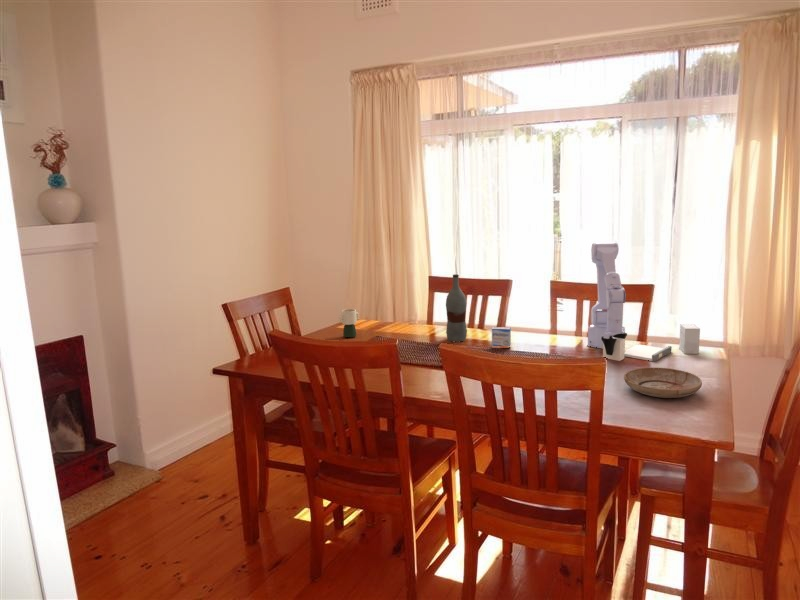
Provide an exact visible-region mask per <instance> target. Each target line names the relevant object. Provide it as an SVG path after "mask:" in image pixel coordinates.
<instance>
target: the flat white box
mask: <svg viewBox="0 0 800 600" xmlns="http://www.w3.org/2000/svg"><path fill="white" fill-rule="evenodd" d="M668 353H669V354H670V353H672V346H671V345H668V346H666V347H664V348H663V347H658V346H651V345H645V344H636V345H635V346H632V347H630V348H628V349H626V350H625V355H624V357H627V358H631V359H638V360H643V361H648V360H649V361H650V362H656V361H658V360H660V359H661V357H662V358H663V357H665V356H667V355H669V354H668ZM666 354H667V355H666ZM664 355H665V356H664ZM659 358H660V359H659ZM649 361H648V362H649Z"/></svg>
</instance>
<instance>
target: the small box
mask: <svg viewBox="0 0 800 600" xmlns="http://www.w3.org/2000/svg"><path fill="white" fill-rule="evenodd" d="M679 327H680V328H679V341H678V342H679V346H678V347H679V348H678V349H679V350H680V351H681V352H682V353H683V354H684V355H687V354H688V355H692V354H693V355H694V354H695V355H699V354H700V337H701V336H700V335H701V328H700V327H698V325H696V324H693V323H691V324H689V323H685V324H684V323H683V324H682V323H681V324H680V325H679Z"/></svg>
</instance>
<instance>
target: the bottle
mask: <svg viewBox="0 0 800 600" xmlns="http://www.w3.org/2000/svg"><path fill="white" fill-rule="evenodd" d="M459 281H460V280H459V274H455V273H454V274H452V287H451V289H450V290H449V292H448V293H447V296H446V299H445V300H446V301H445V309H446V320H447V321H446V330H445V333H446V338H447V341H448V342H450V341H456V342H455V343H460V342H459V341H463V342H465V341H466V340H467V333H468V329H467V323H466V318H467V317H466V316H467V304H468V303H467V299H466V295H465V293H463V290H462V289H461V287H460V282H459ZM464 340H465V341H464Z"/></svg>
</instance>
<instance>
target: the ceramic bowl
mask: <svg viewBox="0 0 800 600" xmlns="http://www.w3.org/2000/svg"><path fill="white" fill-rule="evenodd" d="M623 379H624V381H625V384H626V385H627V386H628V387H629V388H631V389H632V390H634V391H635V392H638V393H640V394H642V395H645V396H650V397H654V398H661V399H662V398H663V399H675V398H684V397H688V396H691V395H693V394H695V393H697V392H698V391H699V390H700V389H701V388H702V385H703V381H702V379H701V377H699V376H698V375H696V374H694V373H691V372H688V371H684V370H680V369H674V368H669V367H667V368H666V367H641V368H634V369H631V370H629V371H627V372H625V374H624V375H623Z"/></svg>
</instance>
